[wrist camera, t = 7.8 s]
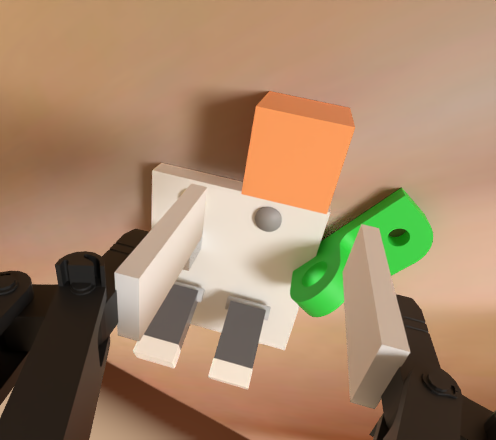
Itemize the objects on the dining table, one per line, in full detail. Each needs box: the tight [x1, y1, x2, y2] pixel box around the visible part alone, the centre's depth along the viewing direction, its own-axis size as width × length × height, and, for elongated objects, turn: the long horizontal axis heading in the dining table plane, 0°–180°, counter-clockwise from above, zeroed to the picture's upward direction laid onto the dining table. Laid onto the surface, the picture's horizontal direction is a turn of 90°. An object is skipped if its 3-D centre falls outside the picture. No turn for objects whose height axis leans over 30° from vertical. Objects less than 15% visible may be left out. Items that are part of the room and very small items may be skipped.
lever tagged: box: [133, 281, 205, 368], centre depth 33 cm, size 2×4×8 cm, turn 81°
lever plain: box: [208, 296, 271, 389], centre depth 33 cm, size 2×4×8 cm
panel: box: [151, 163, 330, 350], centre depth 35 cm, size 18×17×2 cm
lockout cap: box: [241, 91, 355, 214], centre depth 26 cm, size 6×6×6 cm
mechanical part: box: [290, 188, 433, 317], centre depth 29 cm, size 12×6×8 cm, turn 136°
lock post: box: [183, 232, 203, 271], centre depth 32 cm, size 2×2×4 cm
